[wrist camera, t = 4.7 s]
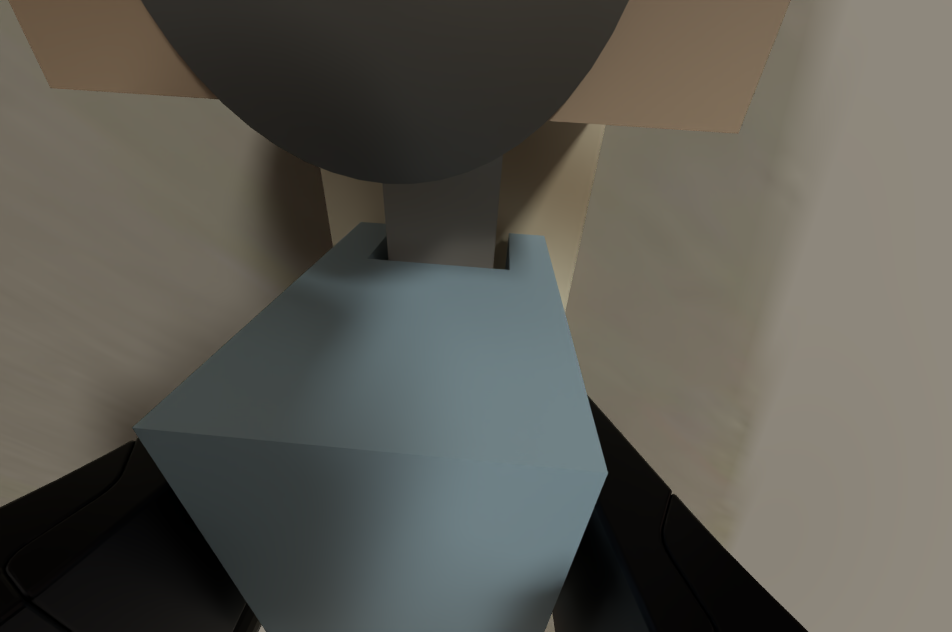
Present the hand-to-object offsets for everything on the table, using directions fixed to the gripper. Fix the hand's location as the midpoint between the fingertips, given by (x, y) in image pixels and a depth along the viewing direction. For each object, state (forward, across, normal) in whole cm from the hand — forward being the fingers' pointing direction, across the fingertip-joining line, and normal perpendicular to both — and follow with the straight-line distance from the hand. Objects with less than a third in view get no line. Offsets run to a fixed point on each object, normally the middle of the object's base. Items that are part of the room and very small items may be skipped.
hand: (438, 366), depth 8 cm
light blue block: (+2, 0, 0) cm, 2 cm away
